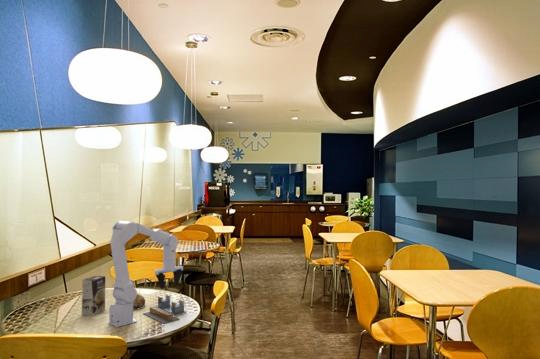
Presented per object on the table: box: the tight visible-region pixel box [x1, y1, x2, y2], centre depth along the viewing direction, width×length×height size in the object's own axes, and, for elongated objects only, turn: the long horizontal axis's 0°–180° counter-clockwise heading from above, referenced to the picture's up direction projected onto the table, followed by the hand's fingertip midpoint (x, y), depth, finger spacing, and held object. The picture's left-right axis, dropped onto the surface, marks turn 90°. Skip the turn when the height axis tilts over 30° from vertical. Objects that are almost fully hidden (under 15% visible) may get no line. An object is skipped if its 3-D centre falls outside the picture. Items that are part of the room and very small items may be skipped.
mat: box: [142, 311, 181, 325], centre depth 183 cm, size 8×18×1 cm, turn 46°
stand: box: [155, 294, 187, 317], centre depth 193 cm, size 6×17×6 cm, turn 46°
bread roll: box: [133, 293, 146, 310], centre depth 198 cm, size 10×10×8 cm
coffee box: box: [81, 275, 106, 316], centre depth 189 cm, size 9×6×16 cm
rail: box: [149, 305, 174, 321], centre depth 183 cm, size 2×16×2 cm, turn 46°
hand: (169, 287), depth 195 cm, fingers open, 7 cm apart
